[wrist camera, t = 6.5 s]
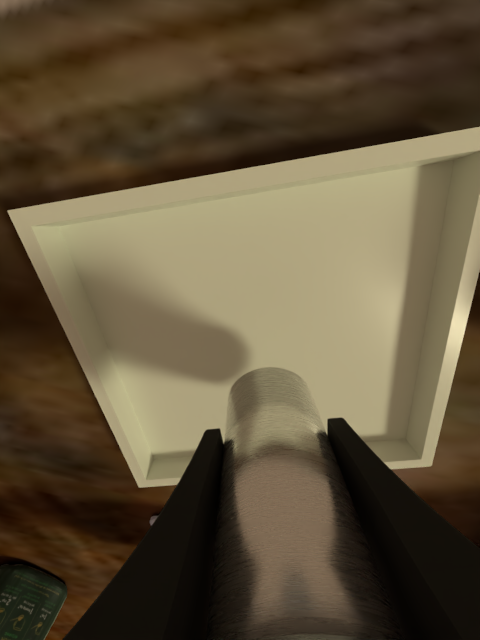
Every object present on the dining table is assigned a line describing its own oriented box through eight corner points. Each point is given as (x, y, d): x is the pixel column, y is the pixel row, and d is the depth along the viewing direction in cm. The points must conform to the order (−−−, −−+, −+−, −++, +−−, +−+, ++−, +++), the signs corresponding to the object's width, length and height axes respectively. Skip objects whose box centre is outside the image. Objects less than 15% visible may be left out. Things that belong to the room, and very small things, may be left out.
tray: (151, 457, 20) (139, 487, 18) (49, 213, 13) (6, 210, 11) (408, 436, 19) (431, 466, 16) (460, 142, 11) (516, 120, 9)
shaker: (240, 438, 14) (234, 759, 6) (214, 377, 12) (148, 725, 4) (319, 422, 13) (442, 760, 5) (304, 356, 11) (463, 720, 3)
